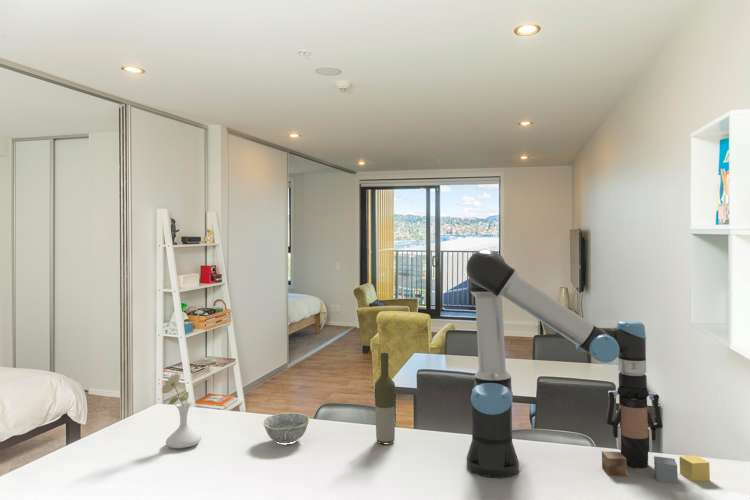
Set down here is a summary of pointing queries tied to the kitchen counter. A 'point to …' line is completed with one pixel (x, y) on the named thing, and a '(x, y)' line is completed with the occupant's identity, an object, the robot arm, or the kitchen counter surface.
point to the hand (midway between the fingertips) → (634, 449)
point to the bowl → (286, 426)
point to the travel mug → (634, 431)
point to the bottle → (385, 404)
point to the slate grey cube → (665, 469)
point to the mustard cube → (694, 468)
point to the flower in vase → (184, 433)
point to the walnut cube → (614, 463)
